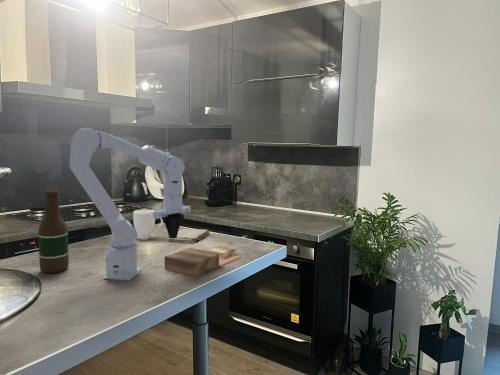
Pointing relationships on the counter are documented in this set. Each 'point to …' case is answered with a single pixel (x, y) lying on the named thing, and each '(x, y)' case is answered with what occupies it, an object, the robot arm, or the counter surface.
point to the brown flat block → (191, 262)
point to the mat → (228, 259)
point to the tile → (223, 251)
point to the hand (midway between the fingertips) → (172, 237)
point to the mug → (144, 223)
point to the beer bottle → (53, 237)
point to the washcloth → (189, 236)
